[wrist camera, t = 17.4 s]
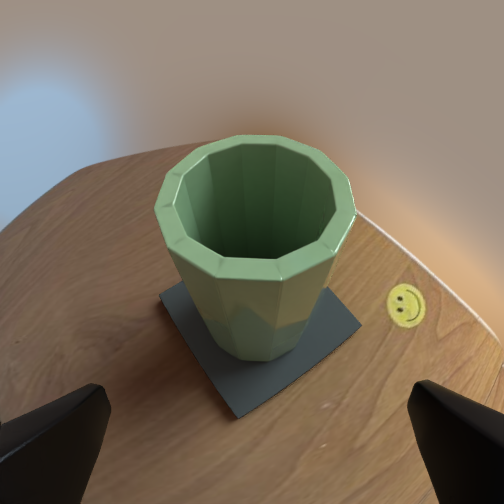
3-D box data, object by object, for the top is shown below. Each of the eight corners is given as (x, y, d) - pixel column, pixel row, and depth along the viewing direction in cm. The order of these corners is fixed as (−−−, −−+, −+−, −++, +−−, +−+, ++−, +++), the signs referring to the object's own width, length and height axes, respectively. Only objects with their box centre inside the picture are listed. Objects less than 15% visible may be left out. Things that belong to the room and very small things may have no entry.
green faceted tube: (273, 381, 16) (294, 325, 7) (187, 324, 18) (119, 216, 9) (324, 297, 19) (377, 174, 10) (244, 253, 21) (233, 119, 12)
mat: (358, 328, 18) (362, 325, 18) (238, 418, 15) (237, 418, 15) (272, 233, 23) (272, 227, 22) (161, 299, 20) (158, 294, 19)
